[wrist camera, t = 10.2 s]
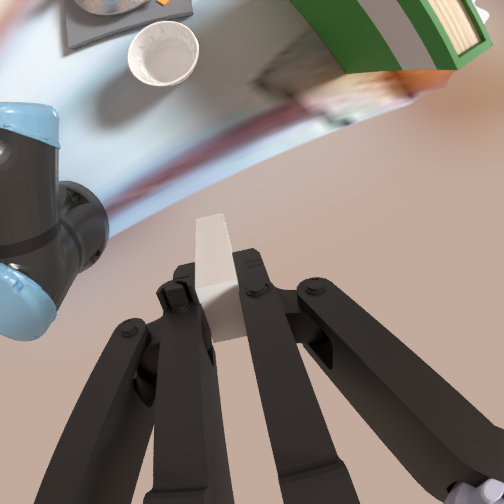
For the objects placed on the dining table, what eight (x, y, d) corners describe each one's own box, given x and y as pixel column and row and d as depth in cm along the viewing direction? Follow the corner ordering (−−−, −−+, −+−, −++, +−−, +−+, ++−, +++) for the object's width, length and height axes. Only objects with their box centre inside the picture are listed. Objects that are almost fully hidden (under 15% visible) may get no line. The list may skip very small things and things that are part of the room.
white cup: (211, 59, 36) (214, 47, 27) (173, 100, 38) (165, 99, 29) (170, 28, 33) (161, 8, 24) (132, 69, 35) (113, 61, 26)
